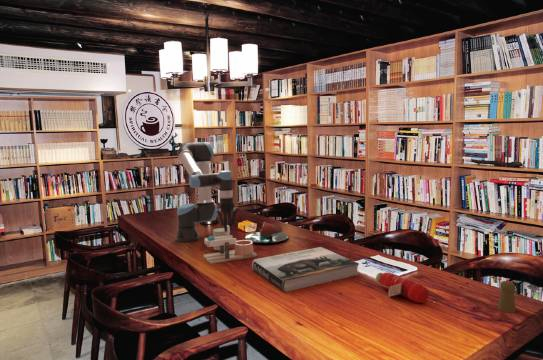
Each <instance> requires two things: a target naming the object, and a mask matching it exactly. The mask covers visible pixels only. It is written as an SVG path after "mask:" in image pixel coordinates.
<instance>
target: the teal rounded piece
mask: <svg viewBox="0 0 543 360" xmlns="http://www.w3.org/2000/svg"><path fill="white" fill-rule="evenodd" d="M283 231H284V229H283V228H282V227H281V225H277V224H272V223H269V222H265V221H263V222H262V226H261V227H260V231H258V232H252V233H249V234H247V235H246V236H245V240H249V241H252V242H253V243H261V244H262V243H263V244H269V243H278V242H281V241H285V240H287V239H288V238H289V236H288V234H286V233H283Z"/></svg>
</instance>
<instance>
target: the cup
mask: <svg viewBox="0 0 543 360" xmlns="http://www.w3.org/2000/svg"><path fill="white" fill-rule="evenodd" d="M236 243H237V244H233V245H234V247H233V248H234V249H233V250H234V251H235V254H236V255H250V254H252V253H253V252H254V242H252V241H249V240H247V239H241V240H236Z"/></svg>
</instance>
